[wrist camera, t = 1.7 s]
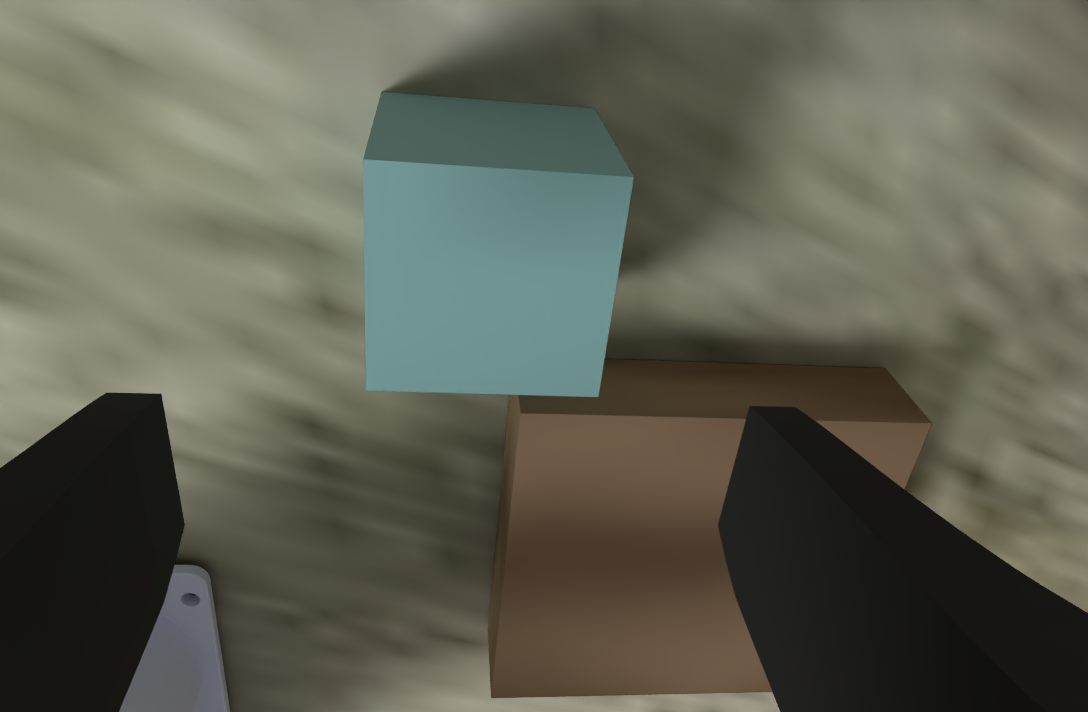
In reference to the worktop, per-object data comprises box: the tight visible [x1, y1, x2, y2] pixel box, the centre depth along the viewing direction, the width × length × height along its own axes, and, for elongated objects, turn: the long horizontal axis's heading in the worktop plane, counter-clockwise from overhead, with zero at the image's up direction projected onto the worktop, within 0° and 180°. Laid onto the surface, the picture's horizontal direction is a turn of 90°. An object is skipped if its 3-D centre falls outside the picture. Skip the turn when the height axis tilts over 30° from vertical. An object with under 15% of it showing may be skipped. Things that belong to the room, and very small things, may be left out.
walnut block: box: [488, 359, 932, 698], centre depth 23 cm, size 10×10×2 cm
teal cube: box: [363, 92, 634, 397], centre depth 17 cm, size 4×4×4 cm
